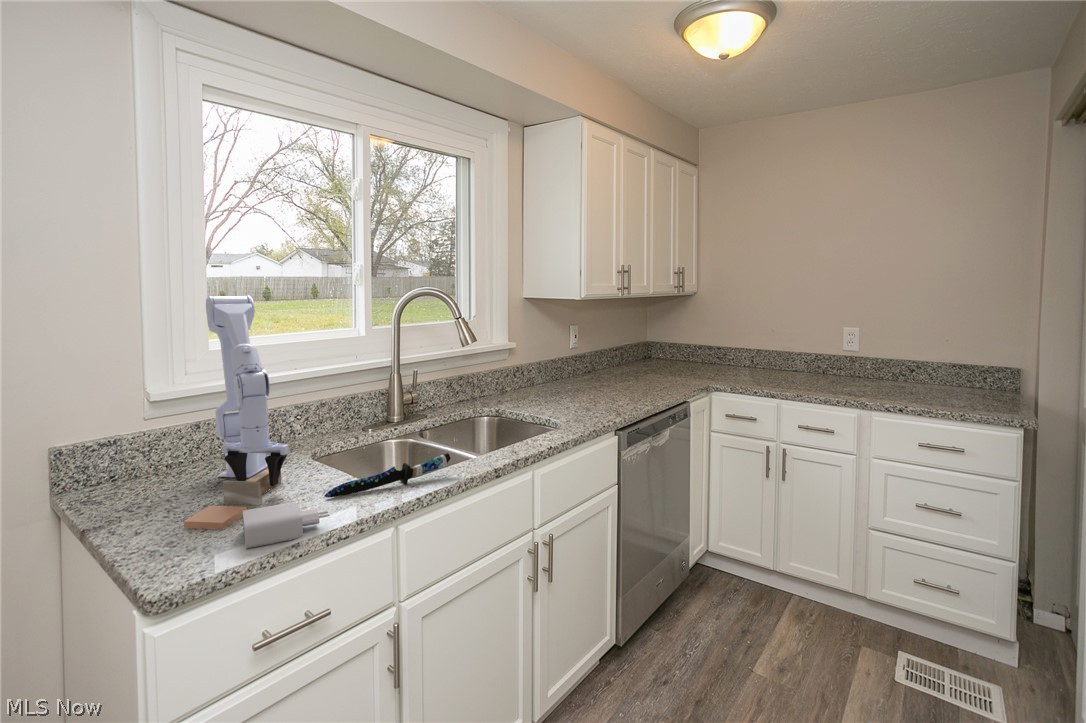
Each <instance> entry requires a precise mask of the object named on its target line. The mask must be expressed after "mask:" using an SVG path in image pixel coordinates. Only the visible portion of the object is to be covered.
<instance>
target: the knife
mask: <svg viewBox="0 0 1086 723" xmlns="http://www.w3.org/2000/svg"><path fill="white" fill-rule="evenodd" d="M450 460H451V456H450V453H444V454H441V455H439V456H436V457H433V458H431V459H428V460H426V461H424V462H422V463H419V464H416V465H414V466H410V465H409V464H408V463H406V462H404V463H402V467H401V470H397V469H396V466H395V465H394V466H392V467H391V468H389V469H388V470H385V471H384V472H381V473H378V474H374V475H371V476H367V477H363V478H358V479H355V480H350V481H347V482H344V483H341V484H339V485H337V486H335V487H334V488H332V489H330V490H328V491H327V492H326V494H324V498H339V497H343V496H348V495H352V494H357V493H362V492H366V491H370V490H373V489H377V488H378V487H384V486H387V485H389V484H392V483H395V482H398V481H400V482H401V484H402V485H404V486H407V485H408V483H409V482H408V481H409V480H410V479H411V478H414V477H418V476H420V475H423V474H427V473H429V472H433V471H436V470H438V469H441V468H445V467H446V466H447V465H448V463H449V462H450Z"/></svg>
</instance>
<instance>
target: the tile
mask: <svg viewBox="0 0 1086 723" xmlns="http://www.w3.org/2000/svg"><path fill="white" fill-rule="evenodd" d="M244 510H248V508H247V506H232V505H231V506H228V505H227V506H226V505H209V506H207V507H206V508H204V509H202V510H200V511H198V512H197V513H195V514H193V515H192V516H190V517H188V518H187V519H185V520H183V529H203V530H204V529H205V530H225V529H226V528H228V527H229V526H230V525H232V524H234V523H235V522H237V521H238V520H239V519H240V518H243V511H244Z"/></svg>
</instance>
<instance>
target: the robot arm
mask: <svg viewBox="0 0 1086 723" xmlns="http://www.w3.org/2000/svg"><path fill="white" fill-rule="evenodd" d="M205 312H206V321H207V327H208V329H209V332H211V333H215V334H217V337H218V339H219V343H220V349H221V350H220V351H221V360H222V368H223V375H224V377H223V378H224V384H225V392H226V393H225V394H226V400H225V401H224V402H222V403H221V404H220V405H218V406H217V408H216V410H215V430H216V434H217V435H216V436H217V437H218V438H219V439H220V440H223V442H224V443H223V444H222V445H221V446H222V453H223V454H224V455H225V456H224V461H225V468H226V471H223V472H221V473H219V474H218V477H219V478H235V481H246V480H247V479H250V478H251V477H253V476H255V475H257V474H258V473H260V472H262V471H264V470H265V469H267V468H268V471H269V481H270V486H275V485H276V484H278V480H279V475H280V471H281V472H282V467H283V465H284V463H285V460H286V459H287V456H288V454H289V453H290V447H289V446H290V445H289V444H286V443H279V442H273V441H270V429H269V413H268V398H267V397H269V395H270V386H271V385H270V378H269V375H268V372H267V371H266V369H265V367H262V363H261V360H260V355H259V353H258V349H257V347H255V346H254V345H251V340H250V333H249V330H250V329H251V326H252V324H253V320H254V318H255V303H254V299H253V298H252V297H251V295H242V296H241V295H239V296H238V295H237V296H236V295H235V296H234V295H233V296H231V295H230V296H229V295H227V296H225V295H224V296H222V295H221V296H212V295H208V296H207V297H206V298H205ZM235 411H238V412H235ZM227 412H228V413H227ZM267 454H269V455H267ZM266 455H267V456H266ZM278 485H279V484H278ZM275 487H276V486H275Z"/></svg>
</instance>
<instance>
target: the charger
mask: <svg viewBox="0 0 1086 723" xmlns="http://www.w3.org/2000/svg"><path fill="white" fill-rule="evenodd" d="M326 517H330V513H329V511H327V510H326V511H320V512H319V511H318V510H317V508H312V509H307V510H300V507H299V505H298V504H297V503H294V502H287V503H280V504H275V505H269V506H264V507H256V508H251V509H247V510H244V511H243V516H242V521H243V534H244V535H243V536H244V542H245V543H244V545H245V549H246V550H247V549H252V548H257V547H262V546H267V545H272V544H273V545H274V544H279V543H283V541H284V542H288V541H295V540H298V539H300V538H301V537H302V536H303V535H304V533H303V532H304V531H303V530H304V529H303V528H304V527H308V526H314V525H319V524H320V522H321V521H320V519H322V518H326Z"/></svg>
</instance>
